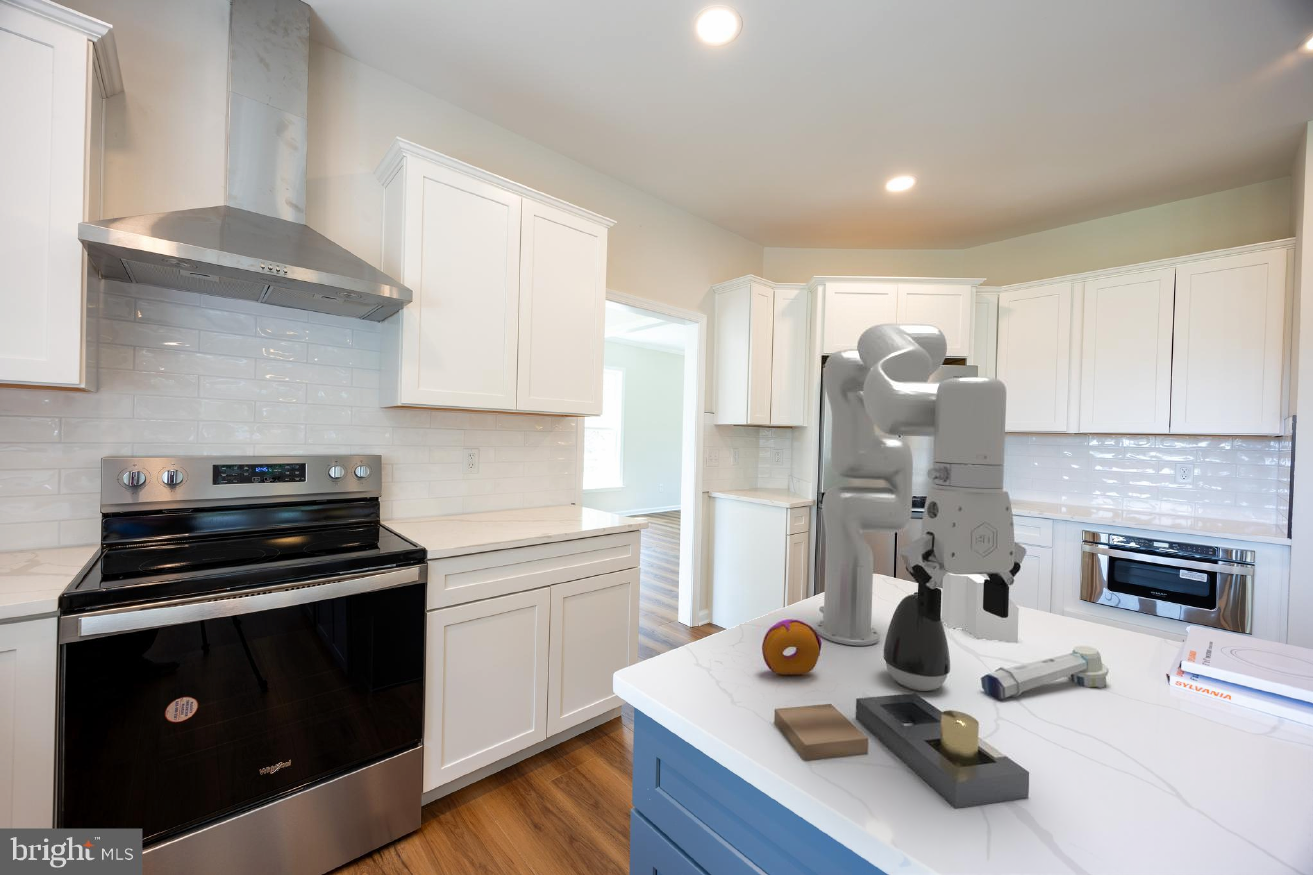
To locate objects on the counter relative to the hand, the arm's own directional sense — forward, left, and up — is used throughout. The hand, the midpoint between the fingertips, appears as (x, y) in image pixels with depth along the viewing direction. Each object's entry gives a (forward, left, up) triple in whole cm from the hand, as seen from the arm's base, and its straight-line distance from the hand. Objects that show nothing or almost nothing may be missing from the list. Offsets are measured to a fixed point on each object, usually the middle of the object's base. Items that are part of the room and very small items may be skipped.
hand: (962, 616), depth 65 cm
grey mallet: (-17, +34, -20) cm, 43 cm away
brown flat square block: (-10, -13, -20) cm, 26 cm away
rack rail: (-4, 0, -20) cm, 20 cm away
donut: (-28, -8, -20) cm, 36 cm away
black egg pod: (-22, +12, -20) cm, 32 cm away
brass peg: (0, 0, -20) cm, 20 cm away
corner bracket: (-42, +44, -20) cm, 64 cm away
